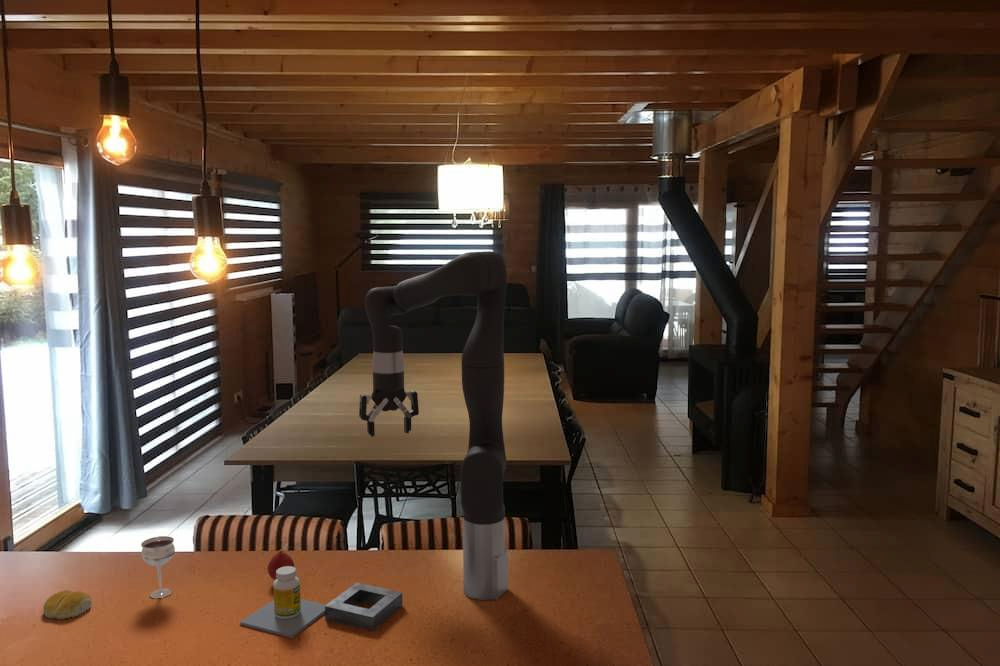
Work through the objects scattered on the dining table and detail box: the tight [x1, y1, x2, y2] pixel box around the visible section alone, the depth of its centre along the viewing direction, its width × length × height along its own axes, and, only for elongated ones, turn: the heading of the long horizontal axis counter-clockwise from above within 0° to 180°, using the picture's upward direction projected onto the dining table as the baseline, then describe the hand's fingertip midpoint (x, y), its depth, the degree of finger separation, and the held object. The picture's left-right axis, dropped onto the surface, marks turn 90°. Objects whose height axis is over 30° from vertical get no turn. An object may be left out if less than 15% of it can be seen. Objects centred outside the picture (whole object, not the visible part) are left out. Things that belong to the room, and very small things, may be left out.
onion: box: [267, 549, 295, 581], centre depth 178 cm, size 6×6×8 cm
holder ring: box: [324, 582, 403, 632], centre depth 165 cm, size 12×12×3 cm
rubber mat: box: [239, 598, 326, 639], centre depth 163 cm, size 13×13×1 cm
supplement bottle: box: [272, 566, 301, 619], centre depth 163 cm, size 5×5×10 cm
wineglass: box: [140, 535, 176, 599], centre depth 172 cm, size 7×7×12 cm
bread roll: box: [42, 590, 92, 620], centre depth 166 cm, size 8×9×4 cm
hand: (389, 434), depth 191 cm, fingers open, 8 cm apart
